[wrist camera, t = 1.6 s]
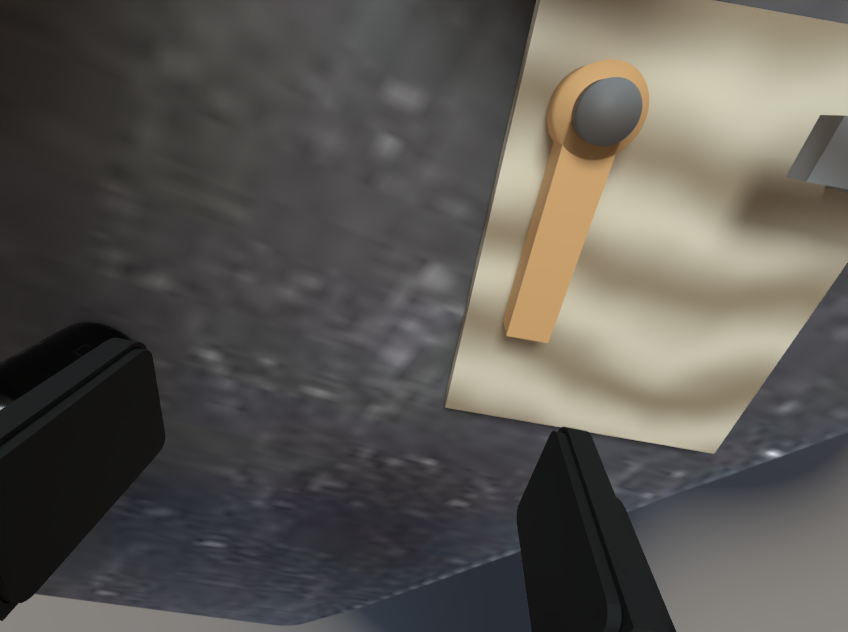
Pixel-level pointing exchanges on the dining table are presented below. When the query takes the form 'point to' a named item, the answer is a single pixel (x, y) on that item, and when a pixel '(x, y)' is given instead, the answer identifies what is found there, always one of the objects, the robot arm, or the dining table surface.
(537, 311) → the link
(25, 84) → the dining table surface
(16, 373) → the supplement bottle
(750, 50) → the pivot board
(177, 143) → the dining table surface
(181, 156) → the dining table surface
